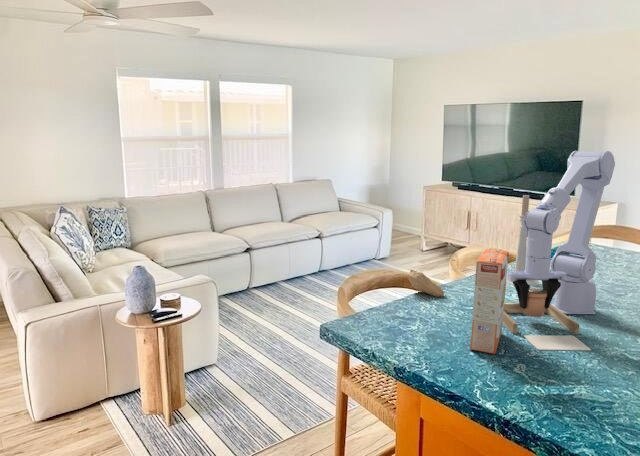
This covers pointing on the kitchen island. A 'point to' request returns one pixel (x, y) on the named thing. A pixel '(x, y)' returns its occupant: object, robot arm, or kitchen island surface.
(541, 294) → the terracotta pot
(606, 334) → the kitchen island surface
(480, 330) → the cracker box
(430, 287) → the pottery oil lamp
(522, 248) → the candlestick
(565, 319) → the wooden u-shaped frame
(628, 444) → the kitchen island surface
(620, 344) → the kitchen island surface
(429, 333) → the kitchen island surface
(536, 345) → the potting tile
